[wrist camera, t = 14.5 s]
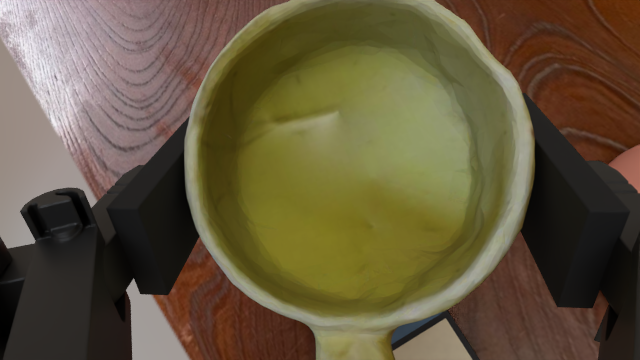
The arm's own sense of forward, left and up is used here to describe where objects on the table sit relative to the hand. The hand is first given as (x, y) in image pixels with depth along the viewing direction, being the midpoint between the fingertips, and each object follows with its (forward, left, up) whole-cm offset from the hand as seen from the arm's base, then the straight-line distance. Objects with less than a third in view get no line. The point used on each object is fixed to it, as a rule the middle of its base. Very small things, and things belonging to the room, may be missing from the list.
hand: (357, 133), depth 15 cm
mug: (0, -3, -4) cm, 5 cm away
